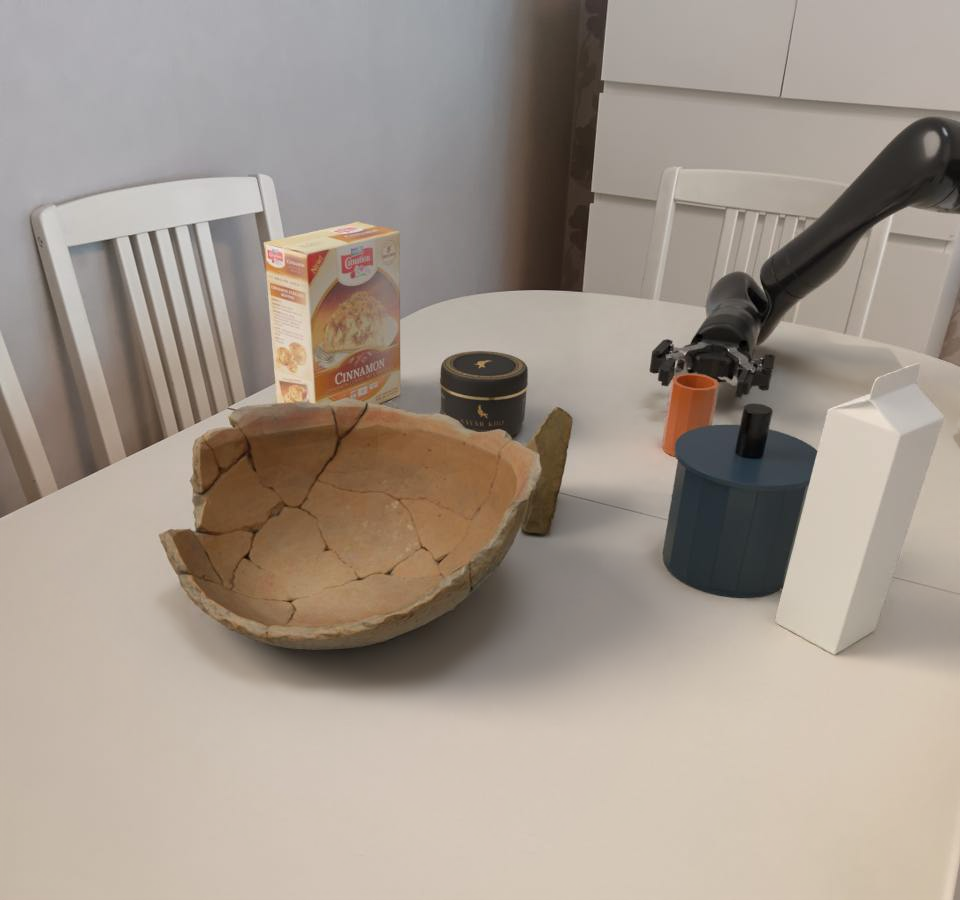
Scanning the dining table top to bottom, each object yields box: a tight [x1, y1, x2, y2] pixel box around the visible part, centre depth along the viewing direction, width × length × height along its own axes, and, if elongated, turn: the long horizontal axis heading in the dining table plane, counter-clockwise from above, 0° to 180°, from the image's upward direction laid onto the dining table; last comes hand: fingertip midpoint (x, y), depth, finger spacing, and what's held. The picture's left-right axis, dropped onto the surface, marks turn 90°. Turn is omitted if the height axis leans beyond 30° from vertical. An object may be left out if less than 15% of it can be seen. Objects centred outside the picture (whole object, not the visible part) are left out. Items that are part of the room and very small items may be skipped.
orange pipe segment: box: [661, 373, 720, 458], centre depth 108 cm, size 5×5×8 cm
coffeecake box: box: [263, 221, 402, 405], centre depth 112 cm, size 15×7×20 cm, turn 143°
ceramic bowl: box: [158, 398, 541, 651], centre depth 80 cm, size 30×27×15 cm
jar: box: [439, 350, 529, 438], centre depth 111 cm, size 10×10×8 cm
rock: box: [521, 406, 574, 535], centre depth 95 cm, size 11×9×10 cm
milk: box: [774, 362, 945, 656], centre depth 75 cm, size 6×6×22 cm
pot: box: [662, 460, 809, 598], centre depth 86 cm, size 12×12×10 cm
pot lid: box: [674, 403, 818, 491], centre depth 82 cm, size 13×13×5 cm
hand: (702, 383), depth 111 cm, fingers open, 8 cm apart
